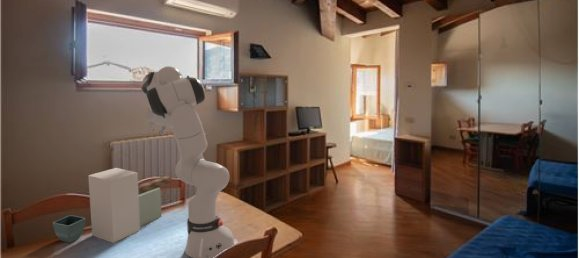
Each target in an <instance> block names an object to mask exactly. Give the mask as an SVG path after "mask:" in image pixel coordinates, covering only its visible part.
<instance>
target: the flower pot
mask: <svg viewBox="0 0 579 258" xmlns="http://www.w3.org/2000/svg"><path fill="white" fill-rule="evenodd" d="M85 222H86V218H85V217H83V216H77V215H72V214H69V215H66V216H65V217H63V218H61V219H58V220H56V221H53V222H52V225H53V230H54V234H55V235H56V237H57V238H58V239H59V240H60V241H62V242H65V243H73V242H74V241H76V240H78V239H80V238H81V236H82V234H83V232H84V230H85Z"/></svg>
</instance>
